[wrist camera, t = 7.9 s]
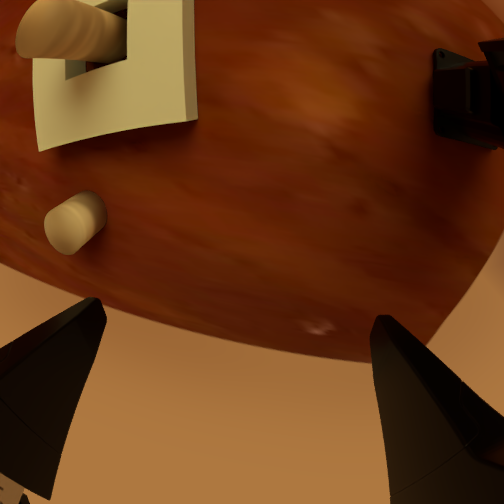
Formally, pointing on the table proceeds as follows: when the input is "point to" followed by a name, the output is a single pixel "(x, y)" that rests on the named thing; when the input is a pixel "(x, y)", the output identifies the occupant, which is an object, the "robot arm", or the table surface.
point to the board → (122, 78)
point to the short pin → (75, 222)
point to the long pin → (71, 32)
